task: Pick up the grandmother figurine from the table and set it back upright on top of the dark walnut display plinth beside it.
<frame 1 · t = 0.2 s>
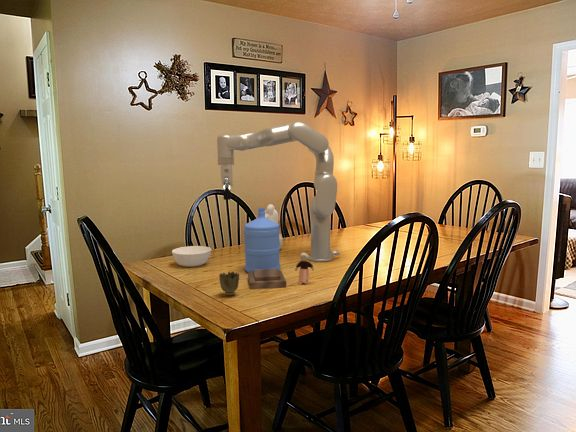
hand: (227, 198, 214), 31 cm above the table, tool pointing down, fingers open, 9 cm apart
display plinth: (266, 282, 185), on the table
grandmother figurine: (304, 284, 183), on the table
bowl: (192, 265, 216), on the table
water jug: (262, 271, 204), on the table
cup: (229, 295, 169), on the table
decorative rooster: (265, 251, 243), on the table
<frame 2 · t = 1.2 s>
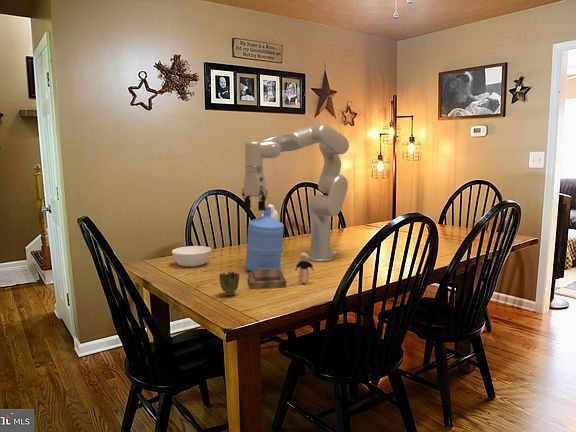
hand: (254, 209, 200), 28 cm above the table, tool pointing down, fingers open, 9 cm apart
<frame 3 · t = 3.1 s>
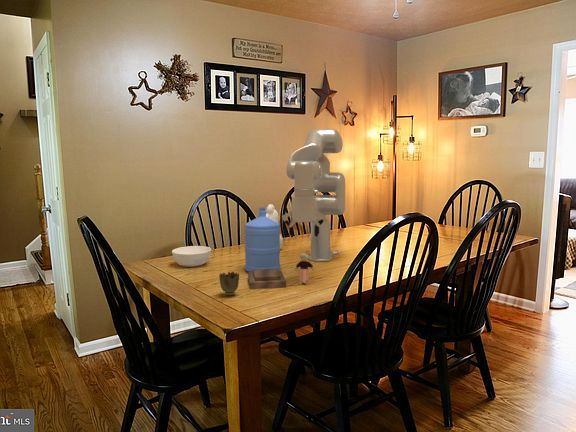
hand: (304, 236, 180), 19 cm above the table, tool pointing down, fingers open, 9 cm apart
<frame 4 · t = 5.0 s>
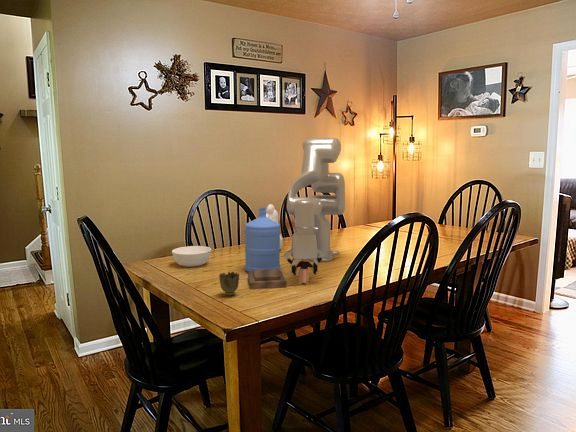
hand: (304, 273, 183), 4 cm above the table, tool pointing down, fingers closed on grandmother figurine, 7 cm apart
grandmother figurine: (304, 284, 183), on the table, touching gripper
everything else where it was.
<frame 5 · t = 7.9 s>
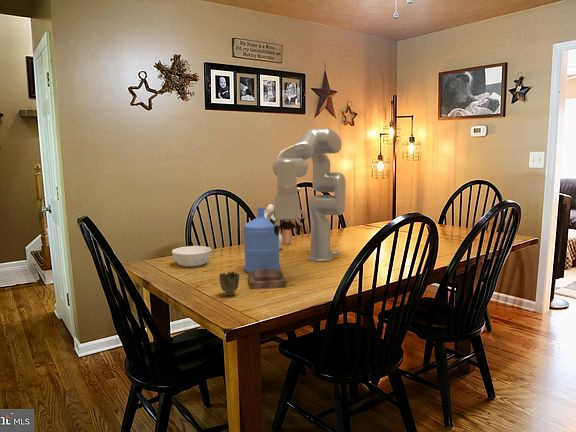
hand: (287, 234, 181), 20 cm above the table, tool pointing down, fingers closed on grandmother figurine, 7 cm apart
grandmother figurine: (287, 245, 182), point 16 cm above the table, touching gripper
everything else where it was.
when the fingers open (9 cm above the table, at t = 11.0 s): grandmother figurine drops 1 cm, resting on display plinth.
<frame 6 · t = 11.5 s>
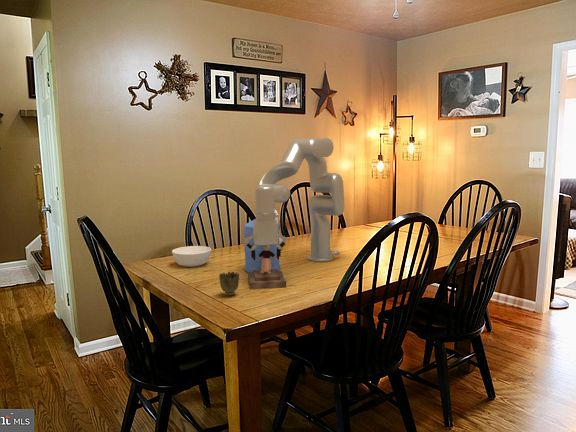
hand: (266, 259, 184), 10 cm above the table, tool pointing down, fingers open, 9 cm apart
grandmother figurine: (267, 273, 185), point 4 cm above the table, touching display plinth
everything else where it was.
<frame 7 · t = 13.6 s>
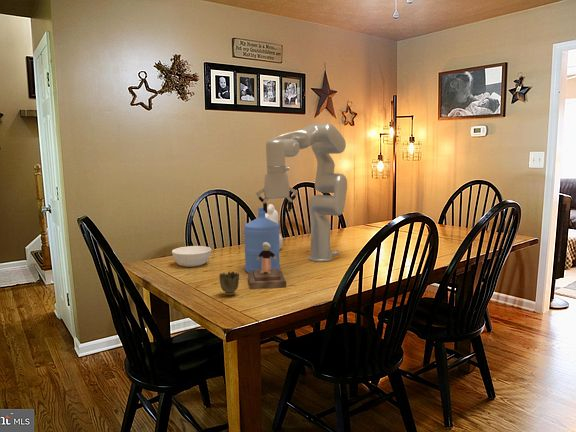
hand: (277, 211, 189), 28 cm above the table, tool pointing down, fingers open, 9 cm apart
nothing on the table moved.
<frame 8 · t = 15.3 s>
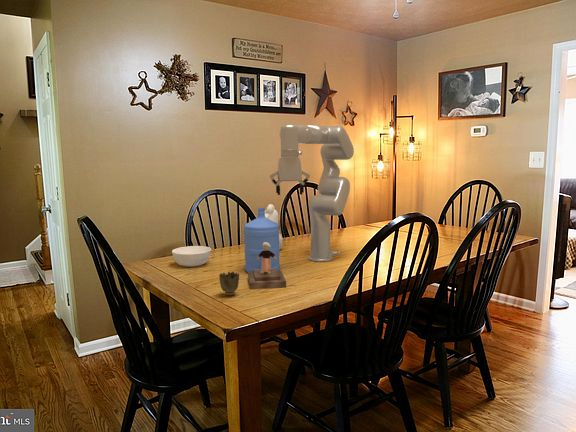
hand: (290, 194, 196), 34 cm above the table, tool pointing down, fingers open, 9 cm apart
nothing on the table moved.
at the end: grandmother figurine inside the target area on the display plinth (0.4 cm from its centre), point 3.8 cm above the display plinth's base; grandmother figurine tilted 0°; the gripper is holding nothing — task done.
